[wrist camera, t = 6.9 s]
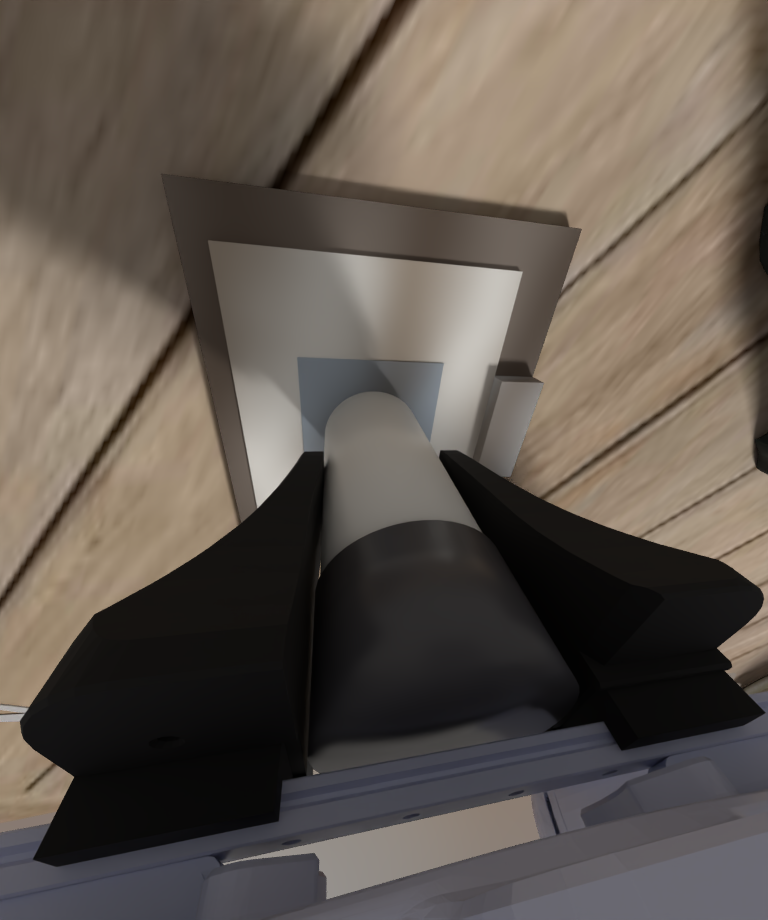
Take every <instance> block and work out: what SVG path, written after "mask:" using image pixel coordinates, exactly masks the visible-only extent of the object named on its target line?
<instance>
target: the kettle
mask: <svg viewBox="0 0 768 920" xmlns="http://www.w3.org/2000/svg"><path fill="white" fill-rule="evenodd" d="M743 690H744V691H745V692H746V693H747V694H748V695H749V694H754V693H760V692H765V691H768V676H766V677H764V678H762V679H760V680H758V681H756V682H754V683H752V684H751V685H749V686H747V687H746V688H744V689H743Z"/></svg>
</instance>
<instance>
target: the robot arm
mask: <svg viewBox="0 0 768 920" xmlns="http://www.w3.org/2000/svg"><path fill="white" fill-rule="evenodd" d="M439 459H440V461H441V463H442V464H443V466H444V468H445V469H446V471H447V473H448V475H449V476H450V478H451V480H452V481H453V483H454V485H455V487H456V488H457V490H458V492H459V494H460V495H461V497H462V499H463V500H464V502H465V504H466V506H467V507H468V509H469V511H470V512H471V514H472V516H473V518H474V519H475V521H476V523H477V524H478V526H479V528H480V530H481V531H482V533H483V534H484V535H486V536H487V537H488V538H489V539H490V540H491V541H492V542H493V543H494V545H495V546H496V547H497V549H498V551H499V552H500V554H501V556H502V557H503V559H504V561H505V562H506V564H507V566H508V567H509V569H510V571H511V572H512V574H513V576H514V577H515V579H516V581H517V582H518V584H519V586H520V587H521V589H522V591H523V592H524V594H525V596H526V597H527V599H528V601H529V602H530V604H531V606H532V607H533V609H534V610H535V612H536V614H537V615H538V617H539V619H540V620H541V622H542V624H543V625H544V627H545V629H546V630H547V632H548V634H549V635H550V637H551V639H552V640H553V642H554V644H555V645H556V647H557V649H558V650H559V652H560V654H561V655H562V657H563V659H564V660H565V662H566V664H567V665H568V667H569V669H570V670H571V672H572V674H573V675H574V677H575V679H576V680H577V682H578V685H579V691H580V693H579V696H578V700H577V701H576V703H575V705H574V706H573V708H572V709H571V710H570V711H569V712H568V713H567V714H566V715H565V716H564V717H563V718H562V719H561V720H560V721H559V722H557V723H556V724H555V725H553V726H552V727H551V728H549V729H548V730H546V731H545V732H543V733H538V734H532V735H527V736H521V737H516V738H511V739H505V740H500V741H494V742H489V743H483V744H478V745H473V746H467V747H462V748H456V749H451V750H445V751H440V752H435V753H429V754H424V755H418V756H413V757H407V758H402V759H397V760H391V761H386V762H380V763H375V764H370V765H364V766H359V767H353V768H348V769H342V770H337V771H332V772H326V773H321V774H315V775H313V768H312V767H311V765H310V764H309V761H308V736H309V714H310V693H311V671H312V649H313V628H314V606H315V589H316V586H317V582H318V578H319V570H320V562H321V540H322V509H323V487H324V451H305V452H304V453H303V454H302V455H301V456H300V458H299V459H298V461H297V462H296V464H295V465H294V467H293V468H292V469H291V471H290V472H289V473H288V475H287V476H286V477H285V478H284V480H283V481H282V482H281V483H280V485H279V486H278V487H277V488H276V489H275V490H274V491H273V492H272V494H271V495H270V496H269V497H268V498H267V499H266V500H265V501H264V502H263V503H262V504H261V505H260V506H259V507H258V508H257V509H256V510H255V511H254V512H253V513H252V514H251V515H250V516H249V517H247V518H246V519H245V520H244V521H243V522H242V523H241V524H240V525H238V526H237V527H236V528H235V529H233V530H232V531H231V532H229V533H228V534H227V535H225V536H224V537H223V538H221V539H220V540H219V541H217V542H216V543H215V544H213V545H212V546H211V547H209V548H208V549H206V550H205V551H203V552H202V553H200V554H199V555H197V556H196V557H194V558H193V559H191V560H190V561H188V562H187V563H185V564H184V565H182V566H180V567H179V568H177V569H175V570H174V571H172V572H171V573H169V574H167V575H166V576H164V577H162V578H161V579H159V580H157V581H155V582H154V583H152V584H150V585H148V586H146V587H145V588H143V589H141V590H139V591H137V592H135V593H134V594H132V595H130V596H128V597H126V598H124V599H123V600H121V601H119V602H117V603H115V604H113V605H112V606H110V607H108V608H106V609H104V610H102V611H100V612H98V613H96V614H94V616H93V617H92V618H91V620H90V621H89V622H88V623H87V625H86V626H85V627H84V629H83V630H82V631H81V633H80V634H79V635H78V636H77V638H76V639H75V640H74V642H73V643H72V645H71V646H70V648H69V649H68V651H67V652H66V654H65V655H64V656H63V658H62V659H61V661H60V662H59V664H58V665H57V667H56V668H55V670H54V671H53V673H52V674H51V676H50V677H49V679H48V680H47V682H46V683H45V685H44V686H43V688H42V689H41V691H40V692H39V694H38V695H37V696H36V698H35V699H34V701H33V702H32V704H31V705H30V707H29V708H28V710H27V711H26V713H25V714H24V716H23V717H22V718H21V720H20V725H21V733H22V736H23V739H24V740H25V741H26V742H27V743H28V744H29V745H30V746H31V747H32V748H33V749H34V750H35V751H37V752H38V753H40V754H41V755H43V756H44V757H46V758H47V759H49V760H50V761H52V762H53V763H55V764H56V765H58V766H59V767H61V768H62V769H64V770H65V771H67V772H68V773H70V774H71V775H73V776H74V779H73V781H72V783H71V785H70V787H69V789H68V791H67V793H66V794H65V796H64V798H63V800H62V802H61V804H60V806H59V808H58V810H57V812H56V814H55V816H54V818H53V820H52V822H51V823H50V824H44V825H39V826H34V827H28V828H23V829H17V830H12V831H6V832H1V833H0V920H768V691H765V692H760V693H754V694H749V695H748V694H747V693H746V692H745V691H744V690H743V689H742V688H741V687H740V686H739V685H738V684H737V683H736V682H735V681H734V680H733V679H732V678H731V677H730V676H729V675H728V674H727V673H726V672H725V670H729V669H730V668H731V667H732V664H731V662H730V661H729V660H728V659H727V658H726V657H725V656H724V655H723V654H722V653H721V652H720V651H719V650H718V649H717V647H719V646H720V645H721V644H722V643H724V642H725V641H726V640H727V639H729V638H730V637H731V636H732V635H733V634H735V633H736V632H737V631H738V630H740V629H741V628H742V627H743V626H745V625H746V624H747V623H748V622H749V621H750V620H751V619H752V618H753V617H754V616H755V615H756V614H757V613H758V611H759V610H760V609H761V607H762V604H763V600H764V597H763V593H762V591H761V589H760V588H758V587H757V586H756V585H754V584H753V583H752V582H750V581H749V580H748V579H746V578H745V577H744V576H742V575H741V574H739V573H738V572H737V571H735V570H734V569H733V568H731V567H730V566H728V565H726V564H725V563H723V562H721V561H719V560H716V559H713V558H709V557H705V556H701V555H698V554H694V553H690V552H687V551H683V550H679V549H675V548H672V547H668V546H664V545H660V544H657V543H654V542H651V541H647V540H644V539H641V538H638V537H635V536H632V535H629V534H626V533H623V532H620V531H617V530H614V529H611V528H608V527H606V526H603V525H600V524H598V523H595V522H593V521H590V520H587V519H585V518H582V517H580V516H577V515H575V514H573V513H570V512H568V511H566V510H563V509H561V508H559V507H557V506H555V505H553V504H551V503H549V502H546V501H544V500H542V499H540V498H538V497H536V496H534V495H532V494H531V493H529V492H527V491H525V490H523V489H522V488H520V487H518V486H516V485H514V484H513V483H511V482H509V481H508V480H506V479H504V478H503V477H501V476H499V475H498V474H496V473H494V472H493V471H491V470H490V469H488V468H486V467H485V466H483V465H482V464H480V463H478V462H477V461H475V460H474V459H472V458H470V457H469V456H467V455H465V454H463V453H462V452H460V451H458V450H440V455H439ZM528 795H531V801H532V808H533V813H534V818H535V822H536V826H537V829H538V833H539V836H540V839H538V840H534V841H530V842H527V843H523V844H519V845H515V846H512V847H508V848H504V849H501V850H497V851H494V852H490V853H487V854H483V855H480V856H476V857H472V858H469V859H466V860H462V861H458V862H455V863H451V864H448V865H444V866H441V867H438V868H434V869H430V870H427V871H423V872H420V873H417V874H413V875H410V876H406V877H403V878H399V879H396V880H393V881H389V882H386V883H382V884H379V885H375V886H372V887H368V888H365V889H361V890H358V891H355V892H351V893H348V894H344V895H341V896H337V897H334V898H330V899H327V900H326V876H325V875H324V873H323V872H321V871H319V859H318V858H317V856H316V855H315V853H310V854H301V855H292V856H282V857H272V858H262V859H253V860H246V861H239V862H235V863H231V864H227V865H223V864H222V863H225V862H230V861H234V860H239V859H243V858H248V857H252V856H257V855H261V854H266V853H271V852H275V851H280V850H284V849H289V848H293V847H297V846H302V845H307V844H311V843H315V842H320V841H325V840H329V839H334V838H338V837H343V836H347V835H352V834H356V833H361V832H365V831H370V830H374V829H379V828H383V827H388V826H392V825H397V824H401V823H406V822H411V821H415V820H419V819H424V818H429V817H433V816H437V815H442V814H447V813H451V812H456V811H460V810H465V809H469V808H474V807H478V806H483V805H487V804H492V803H496V802H500V801H505V800H510V799H514V798H519V797H523V796H528Z"/></svg>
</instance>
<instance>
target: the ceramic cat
mask: <svg viewBox="0 0 768 920" xmlns="http://www.w3.org/2000/svg"><path fill="white" fill-rule="evenodd" d="M760 262H761V264H762V266H763V268H764V270H765V272H766V274H767V275H768V204H767V206H766V207H765V209H764V215H763V221H762V228H761V235H760ZM755 441H756V445H757V448H758V451H759V458H758V462H757V468H758V469H759V470H760V471H762V472H764V473H766V474H768V433H767V434H766V435H764V436H763V437H761V438H759V439H755Z"/></svg>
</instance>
